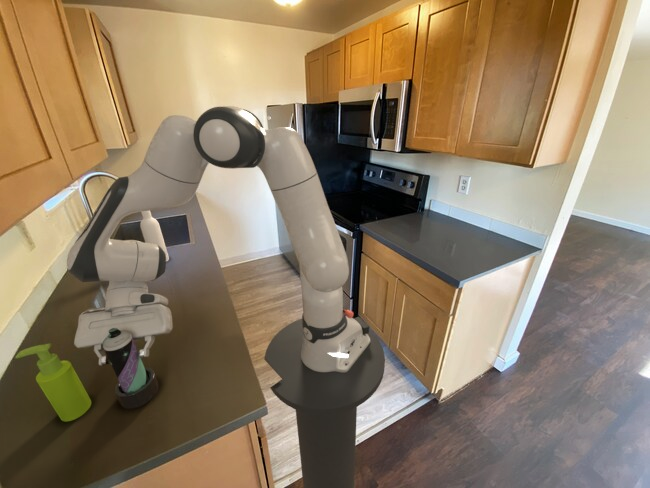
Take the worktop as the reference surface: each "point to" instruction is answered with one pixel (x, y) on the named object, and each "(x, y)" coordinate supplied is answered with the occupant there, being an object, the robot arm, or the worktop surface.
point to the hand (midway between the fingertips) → (124, 360)
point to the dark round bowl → (138, 392)
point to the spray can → (125, 360)
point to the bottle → (152, 231)
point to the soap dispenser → (59, 383)
